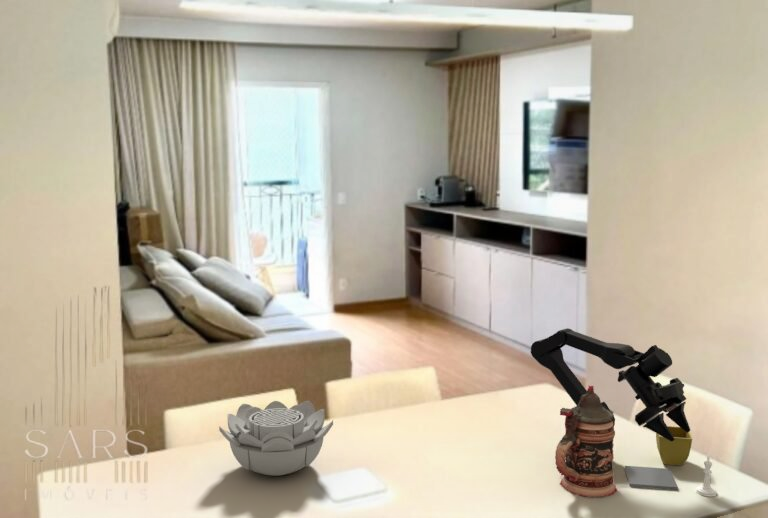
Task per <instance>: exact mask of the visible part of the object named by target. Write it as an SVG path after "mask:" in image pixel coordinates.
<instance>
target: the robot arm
mask: <svg viewBox="0 0 768 518" xmlns="http://www.w3.org/2000/svg"><path fill="white" fill-rule="evenodd" d="M565 346H568V347H571V348H573V349H576V350H579V351H582V352H585V353H587V354H590V355H592V356H595V357H598V358H599V359H600V360H601V361H602V362H604V364H606V365H608V366H610V367H612V368H613V369H616V370H620V371H618V378H617V382H618V383H621V382H623V381H626V382H627V384H628V385H629V386H630V388H632V391H634V393H635V394H636V395H635V396H634V398H635V399H636V401H639V400H640V401H641V402H642V404H643V405H644V406H645V408H643V409H642V410H640V411H639V412H638V413H637V414H635V415H634V422H635V423H637V425H638V426H639V427H641V426H642V427H643V429H645V428H646V429H648V430H650V431H652V432H654V433H655V434H656V433H657V434H659V435H661V436H663V437H664V438H666V439H668V440H669V441H671V442H672V441H674V440H675V439H674V437H673V435H672V433H671V432H670V430H669V428H668V427H667V426H668V425H667V424H666V422H665V417H664V414H665V416H666V417H667V418H669V419H670V420H671V421H672V422H673V423H674V424H676V425H677V427H681V428H682V429H683V430H684V431H686V432H687V433H688V432H691V428H690V426H689V422H688V420H687V416H686V414H685V405H686V403H687V402H686V400H687V397H686V396H685V395H684V394H685V391H684V387H685V383H683V382H682V380H680V379H679V378H678V377H675V378H672V379H670V380H669V383H668V384H666V385H663V384H661V382H658V381H657V382H655V381H654V380H653V378H657V377H658V376H659V375H661V374H662V373H664V372H665V371H666V370H667V369H668V368H670V367H671V366H672V365H673V359H672V357H671V356H670V354H669V353H668V352H666V351H665V350H663V349H662V348H660V347H658V346H657V345H656V344H654V345H651V346H650V347H649V348H648V349H647V350H646V351H645V352H641V351H639V350H635V349H634V347H633V346H631V345H630V344H626V343H625V344H623V343H619V342H618V343H617V342H616V343H615V342H607V341H603V340H600V339H597V338H594V337H592V336H589V335H586V334H584V333H580V332H577V331H575V330H573V329H571V328H567V327H566V328H563V329H560V330H558V331H556V332H555V333H554V334H552V335H550V336H548V337H546V338H543V339H540V340H536V341H534V342H532V344H531V347H530V355H531V357H532V358H533V359H534V360H535V361H536V362H537V363H538V364H539V365H540V366H542V367H544V368H546V369H548V370H549V371H550V372H551V374H553V376H554V377H555V379H556V381H558V382H559V384H560V385H561V387H562V388H563V389H564V390H565V392H566V393H567V394H568V396H569V397H570V398H571V400H572V401H573V402H574V404H575V406H577V405H578V404H579V401H580V398H581V396H582V395H584V394H586V393H587V390H588V389H586V388H585V387H584V385H583V384H582V382H581V381H580V380H579V379H578V377H577V376H576V375H575V373H574V372H573V371H572V369H571V368H570V367H569V366H568V364H567V362H565V359H564V355H563V350H562V348H563V347H565ZM636 364H638V365H636ZM634 365H635V366H634ZM626 367H628V368H627V369H625V370H621V369H624V368H626ZM601 405H602V406H603V407H604V408H605V409H607V410H609V411H610V412H612V414H613V415H614V411H612V410H611V409H610V407H609V406H608V404H607V403H606V402H605V401H601ZM661 412H662V413H661ZM615 425H616V418H615V417H614V419H613V426H614V427H615Z"/></svg>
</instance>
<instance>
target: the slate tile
mask: <svg viewBox="0 0 768 518" xmlns="http://www.w3.org/2000/svg"><path fill="white" fill-rule="evenodd" d="M624 472H625V475H626V478H627V483H628V487H630V488H645V489H657V490H670V491H671V490H673V491H678V490H679V487H678V484H677V482H676V480H675V477H674V474H673V472H672V470H671V468H663V467H652V466H651V467H650V466H637V465H635V466H634V465H624Z"/></svg>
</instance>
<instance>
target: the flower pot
mask: <svg viewBox="0 0 768 518" xmlns="http://www.w3.org/2000/svg"><path fill="white" fill-rule="evenodd" d="M667 427H668V428H669V430H670V432H671V433H672V435H673V437H674V439H675V440H674V441H672V442H671V441H669V440H668V439H666V438H664V437H663V436H661V435H659V434H657V433H656V432H655V440H656V441H655V443H656V447H657V450H658V453H659V456H660V459H661V462H662V464H663V465H670V466H683V465H685V463H686V462H687V461H688V458H689V456H690V453H691V452H690V451H691V449H692V443H693V436H692V434H691V431H689V432H688V433H687V432H686V431H684V430H683V429H682V428H681V427H679V426H671V425H670V426H669V425H667Z"/></svg>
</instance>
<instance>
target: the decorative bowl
mask: <svg viewBox="0 0 768 518" xmlns="http://www.w3.org/2000/svg"><path fill="white" fill-rule="evenodd" d="M324 423H325V408H321V409H318V410H317V411H316V408H315V406H314V404H313V403H312V402H311V401H309V400H304V401H301V402H300V403H299V404H294V405H293V406H291V407H290V408H288V407H287V406H286V405H285V404H284V403H283V402H281V401H279V400H274V401H271V402H269V404H267V405H266V406H265V408H264V409H261V408H260V407H257V406H252V405H251V404H248V403H242V404H241V405H239V407H238V409H237V410H236V415H235V414H233V413H227V428H228V430H229V431H227V430H225V429H223V427H221V426H220V425H219V427H218V428H219V431H218V432H220V433H221V435H222V436H223V437H224V438H225V440H227V441H228V442H229V447H230V449H231V452H232V455H233V456H234V458H235V459H236V461H237V462H238V464H239V465H241V466H242V467H243V469H246V470H247V471H249V470H250V471H253V472H254V473H255V472H256V473H257V474H259V475H260V474H261V475H265V476H283V475H289V474H293V473H296V472H297V471H299V470H301V469H303V468H304V467H309V466H310V465H311V464H312V463H313V462H314V461H315V459H316V458H317V457H318V455H319V454H320V451H321V449H322V447H323V443H324V438H325V436H326V435H327V434H328V433H329V431H330V430H331V429H332V427H333V425H334V419H332V421H330V422H329V423H328V424H327V425H325V426H324Z"/></svg>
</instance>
